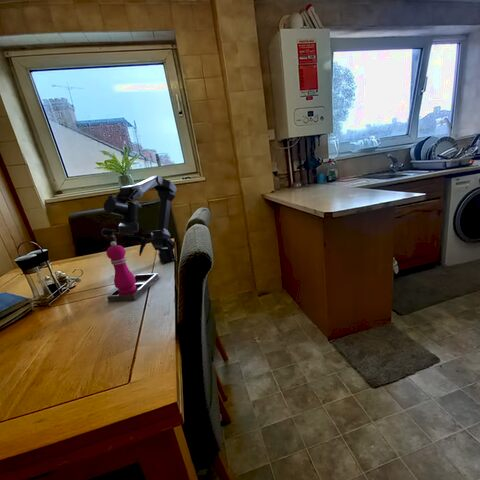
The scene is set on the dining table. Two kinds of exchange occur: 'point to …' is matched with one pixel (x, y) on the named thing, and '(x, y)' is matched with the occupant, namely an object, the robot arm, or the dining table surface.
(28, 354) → the dining table surface
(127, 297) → the stand
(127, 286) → the pepper mill
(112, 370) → the dining table surface
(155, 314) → the dining table surface
